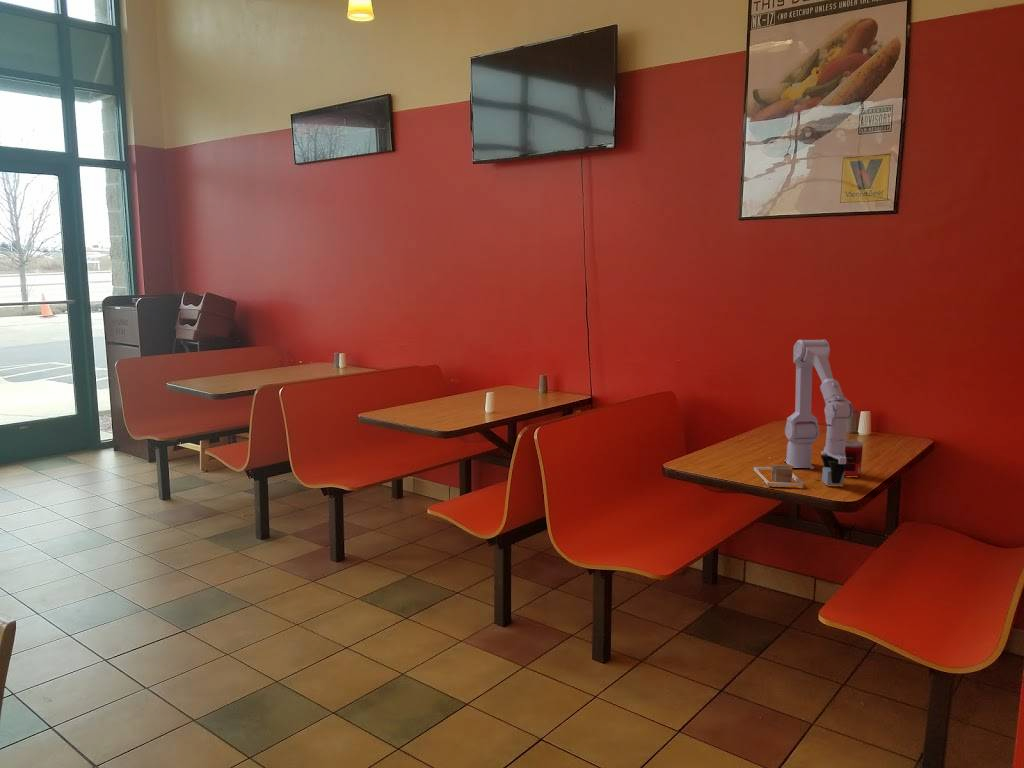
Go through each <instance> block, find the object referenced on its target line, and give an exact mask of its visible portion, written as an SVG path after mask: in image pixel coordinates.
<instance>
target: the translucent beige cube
mask: <svg viewBox="0 0 1024 768" xmlns="http://www.w3.org/2000/svg"><path fill="white" fill-rule="evenodd" d="M771 467H772V475H771V479H772V480H773V481H774V482H784V483H792V473H793V470H794V469H792V468H791V467H790V466H789V465H787V464H772V465H771Z"/></svg>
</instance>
